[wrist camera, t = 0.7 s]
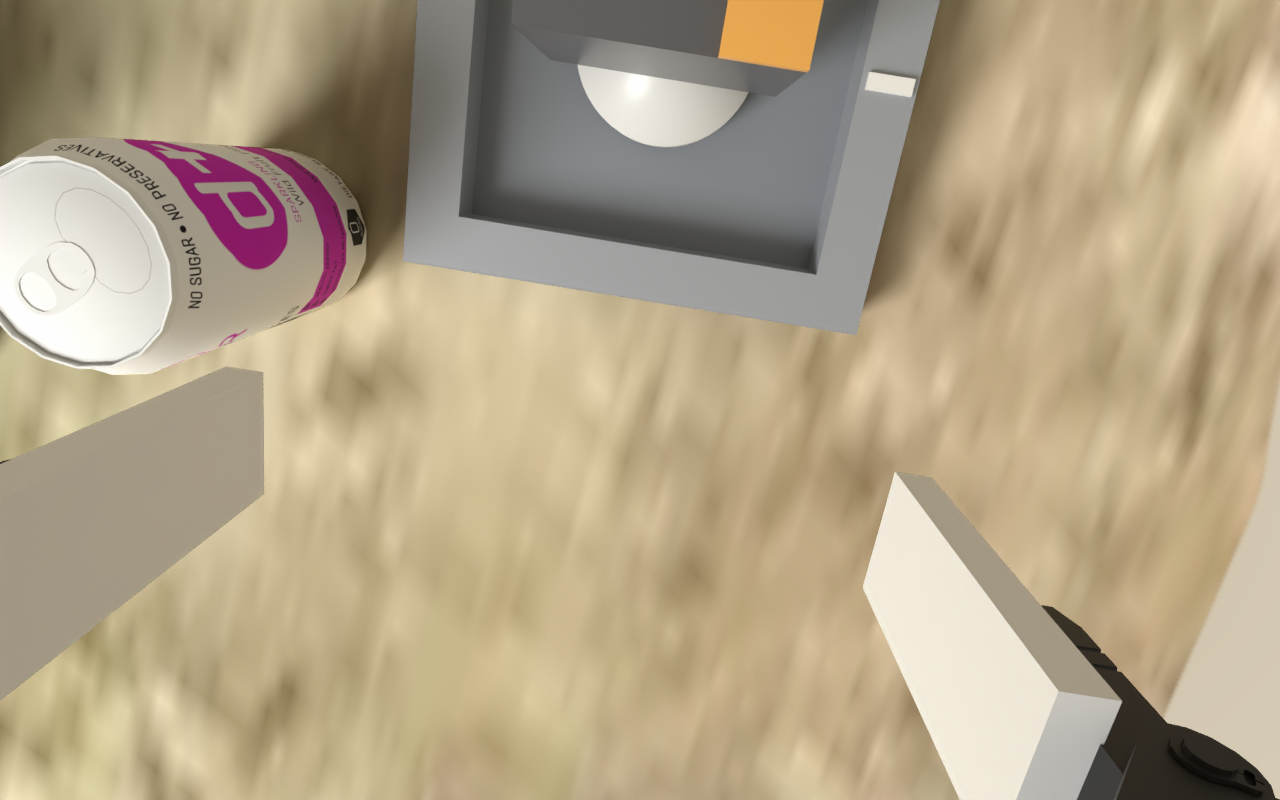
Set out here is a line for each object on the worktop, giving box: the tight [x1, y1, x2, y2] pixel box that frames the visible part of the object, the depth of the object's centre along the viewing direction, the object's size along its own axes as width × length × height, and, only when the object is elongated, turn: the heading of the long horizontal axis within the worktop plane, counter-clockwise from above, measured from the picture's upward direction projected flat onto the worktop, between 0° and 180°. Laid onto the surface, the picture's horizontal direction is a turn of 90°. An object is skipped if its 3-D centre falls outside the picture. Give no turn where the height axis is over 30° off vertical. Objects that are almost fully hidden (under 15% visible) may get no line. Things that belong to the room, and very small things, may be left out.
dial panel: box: [403, 0, 940, 335], centre depth 33 cm, size 22×22×4 cm
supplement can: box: [0, 137, 367, 375], centre depth 31 cm, size 8×8×15 cm
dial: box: [511, 0, 824, 148], centre depth 28 cm, size 10×8×10 cm
